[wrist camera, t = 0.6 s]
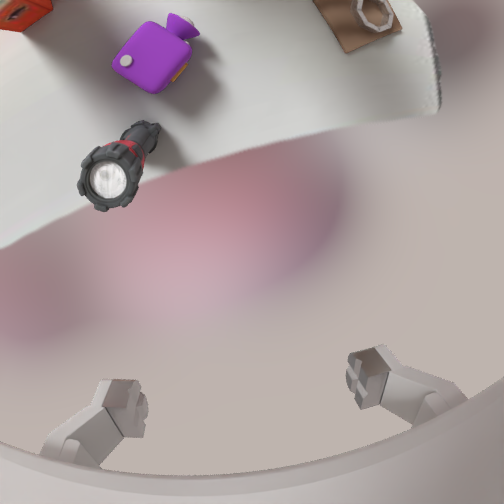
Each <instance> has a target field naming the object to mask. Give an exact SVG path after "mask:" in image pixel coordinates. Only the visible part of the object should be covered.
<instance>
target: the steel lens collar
mask: <svg viewBox="0 0 504 504" xmlns="http://www.w3.org/2000/svg"><path fill="white" fill-rule="evenodd" d="M370 1H372V2H374V3H376V4H377V6H378V7H379V9H380V11H381V13H382V20H381V25H378V26H375V25H374V24H372V23H370V22H368V21H367V19H366V17H365V16H364V14H363V12H362V10H361V9H362V4H363V0H352V3H351V8H350V12H351V14H352V16H353V17H354V19H355V21H356V23H357V24H358V26H360V27H362V28H364V29H366V30H368V31H370V32H372V33H376V32H381V31H384V30H386V29H389V28H391V26H392V21H393V16H394V14H393V12H392V10H391V8H390V6H389V5H388V3H387V1H386V0H370Z"/></svg>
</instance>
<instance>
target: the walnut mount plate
mask: <svg viewBox="0 0 504 504" xmlns="http://www.w3.org/2000/svg"><path fill="white" fill-rule="evenodd" d="M386 1H387V3H388V5H389V6H390V8H391V10H392V12H393V14H394V16H393V21H392V26H391V28H389V29H386V30H384V31H381V32H376V33H372V32H370V31H368V30H366V29H364V28H362V27H360V26H358V24H357V23H356V21H355V19H354V17H353V16H352V14H351V12H350V8H351V3H352V0H313V2H314V3H315V5H316V6H317V8H318V9H319V11H320V12H321V14H322V15H323V17H324V19H325V20H326V22H327V23H328V25H329V26H330V28H331V30H332V31H333V33H334V35H335V36H336V38H337V40H338V42H339V43H340V45H341V47H342V49H343V50H344V52H345V53H348V52H351V51H353V50H355V49H357V48H359V47H361V46H363V45H366V44H368V43H370V42H372V41H375V40H377V39H379V38H381V37H384V36H386V35H389V34H391V33H394V32H396V31H399V30H401V29H402V27H401V25H400V22H399V20H398V19H397V17H396V15H395V13H394V11H393V9H392V7H391V5H390V3H389V2H388V0H386ZM361 10H362V12H363V14H364V16H365V17H366V19H367V21H368V22H370V23H372V24H374V25H375V26H378V25H381V20H382V13H381V11H380V9H379V7H378V6H377V4H376V3H374V2H372V1H370V0H363V4H362V9H361Z"/></svg>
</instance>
